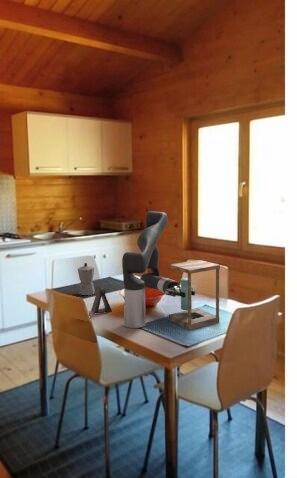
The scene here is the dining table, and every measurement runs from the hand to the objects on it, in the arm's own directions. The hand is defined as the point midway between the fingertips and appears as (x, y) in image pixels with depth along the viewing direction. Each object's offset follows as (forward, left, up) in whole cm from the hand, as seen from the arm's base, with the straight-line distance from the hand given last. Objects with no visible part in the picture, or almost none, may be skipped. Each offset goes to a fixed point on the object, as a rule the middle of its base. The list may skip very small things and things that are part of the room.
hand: (189, 294), depth 201 cm
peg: (-2, +2, -7) cm, 8 cm away
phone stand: (-44, +9, -12) cm, 47 cm away
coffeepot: (-60, +40, -12) cm, 73 cm away
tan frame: (+2, -2, -12) cm, 12 cm away
